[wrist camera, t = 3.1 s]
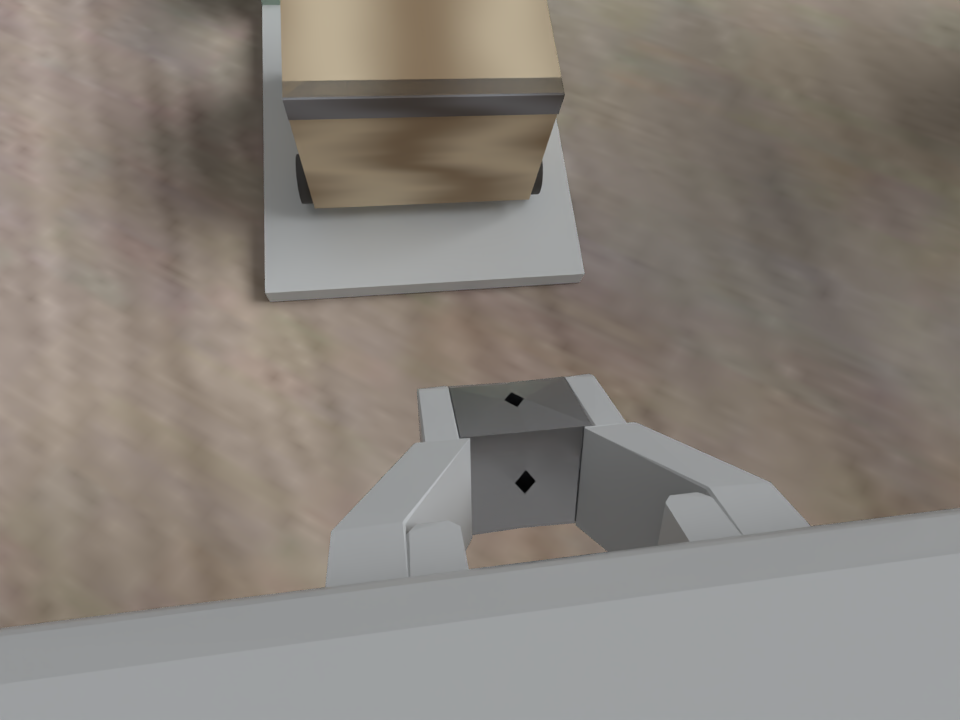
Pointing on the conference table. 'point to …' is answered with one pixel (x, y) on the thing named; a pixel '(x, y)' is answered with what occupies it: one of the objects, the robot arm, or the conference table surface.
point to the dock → (403, 225)
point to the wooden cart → (418, 99)
